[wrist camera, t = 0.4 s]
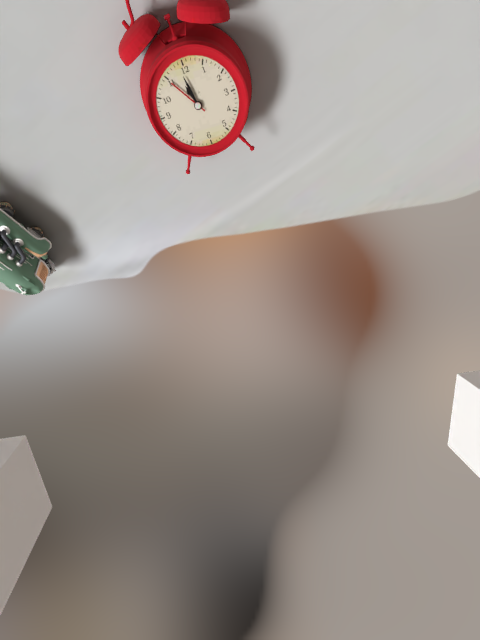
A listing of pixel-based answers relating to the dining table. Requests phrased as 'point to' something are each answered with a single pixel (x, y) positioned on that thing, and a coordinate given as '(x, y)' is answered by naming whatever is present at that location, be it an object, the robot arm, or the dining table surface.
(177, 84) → the alarm clock
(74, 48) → the dining table surface
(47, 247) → the hoverbike
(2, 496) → the robot arm
